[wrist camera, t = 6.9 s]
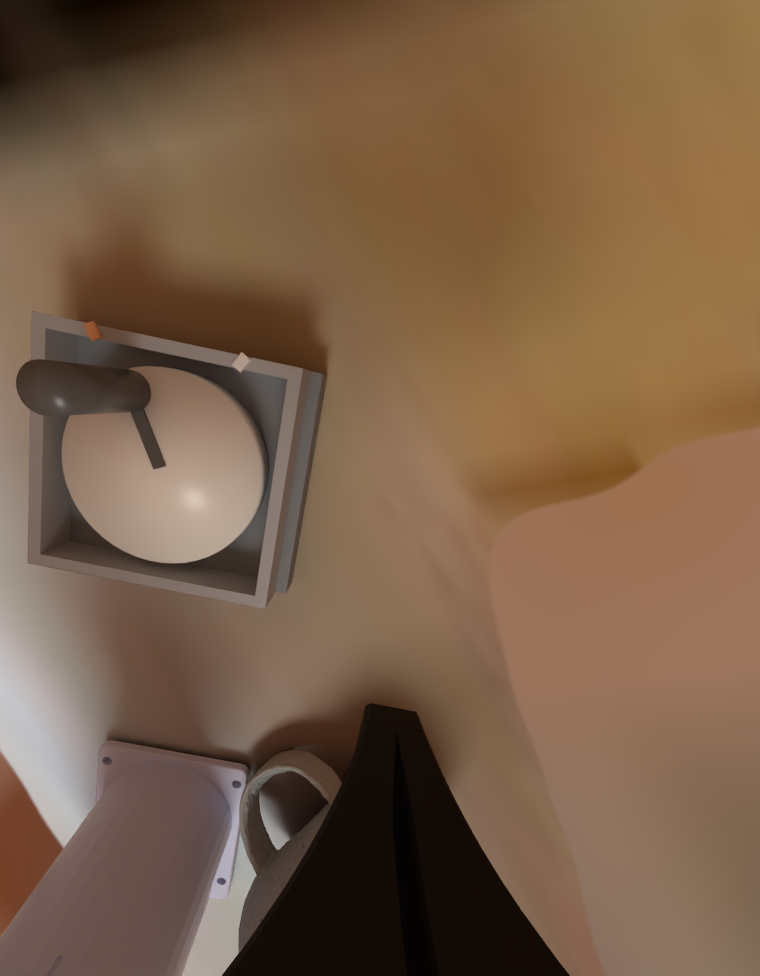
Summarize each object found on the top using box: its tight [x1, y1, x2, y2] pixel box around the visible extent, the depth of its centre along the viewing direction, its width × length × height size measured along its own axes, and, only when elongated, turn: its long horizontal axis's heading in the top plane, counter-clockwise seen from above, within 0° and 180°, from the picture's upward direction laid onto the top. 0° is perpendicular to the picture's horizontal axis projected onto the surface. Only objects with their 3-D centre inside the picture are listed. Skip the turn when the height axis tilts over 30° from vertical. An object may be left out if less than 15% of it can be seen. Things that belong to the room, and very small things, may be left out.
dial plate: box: [28, 311, 327, 609], centre depth 17 cm, size 10×11×3 cm
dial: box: [16, 359, 268, 563], centre depth 15 cm, size 8×8×5 cm
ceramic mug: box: [239, 750, 342, 952], centre depth 19 cm, size 11×8×8 cm
